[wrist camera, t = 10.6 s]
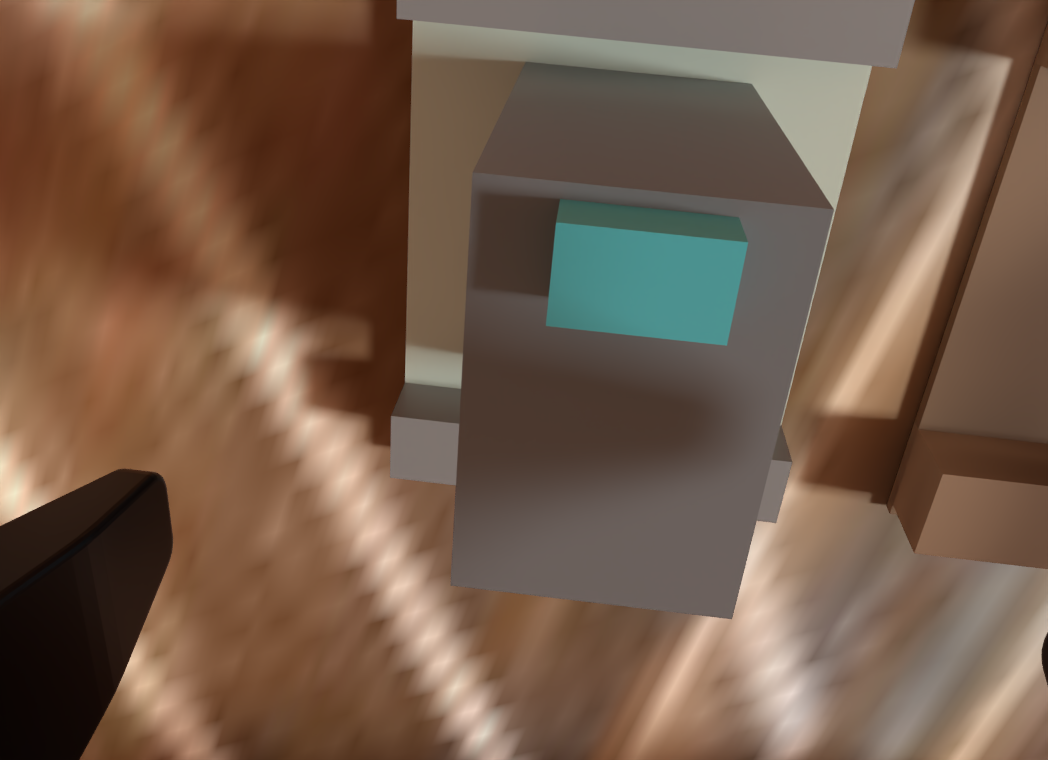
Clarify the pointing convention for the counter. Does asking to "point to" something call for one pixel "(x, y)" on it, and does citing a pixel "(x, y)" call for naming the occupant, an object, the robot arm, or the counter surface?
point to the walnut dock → (991, 376)
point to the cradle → (612, 44)
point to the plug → (628, 337)
